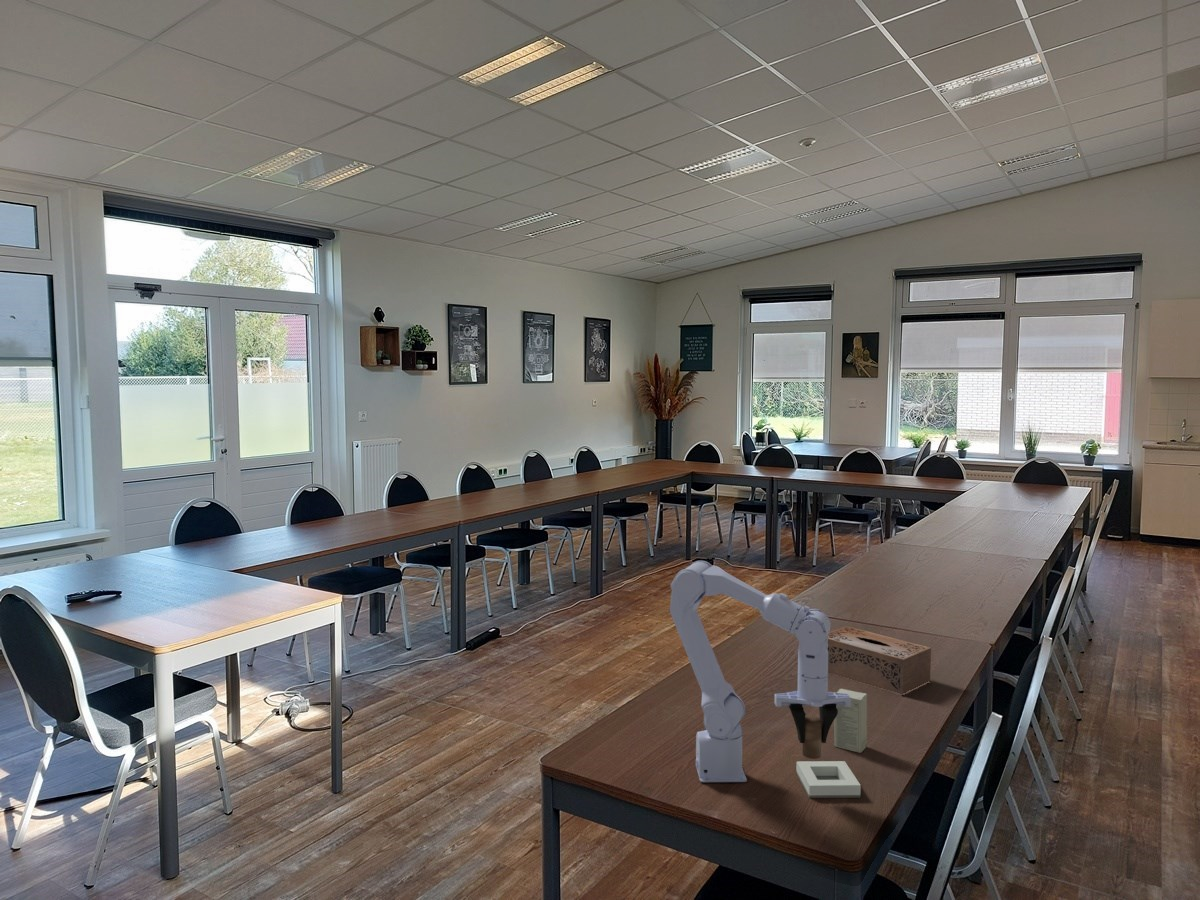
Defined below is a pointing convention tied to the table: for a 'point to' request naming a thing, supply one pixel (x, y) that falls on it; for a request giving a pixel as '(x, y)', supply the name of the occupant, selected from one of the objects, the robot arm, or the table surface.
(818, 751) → the pin
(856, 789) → the socket block
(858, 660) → the tissue box cover
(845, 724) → the skincare box
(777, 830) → the table surface
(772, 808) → the table surface
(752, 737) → the table surface
